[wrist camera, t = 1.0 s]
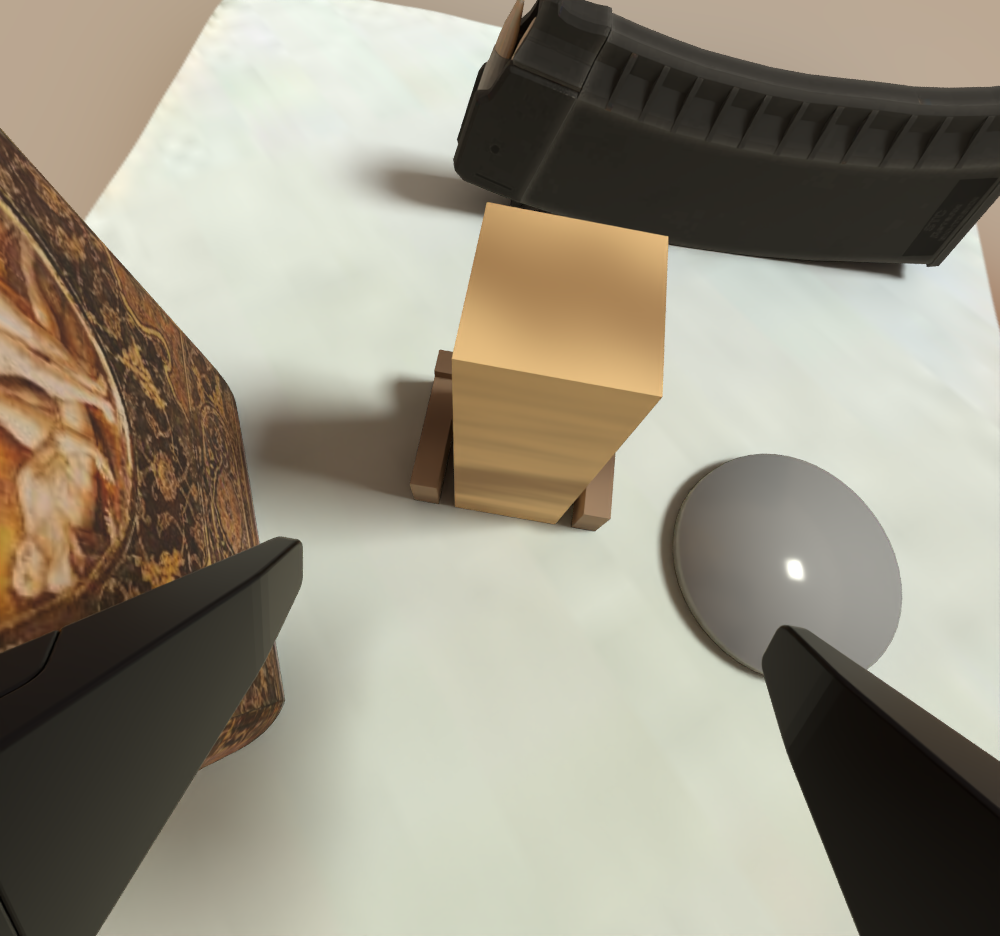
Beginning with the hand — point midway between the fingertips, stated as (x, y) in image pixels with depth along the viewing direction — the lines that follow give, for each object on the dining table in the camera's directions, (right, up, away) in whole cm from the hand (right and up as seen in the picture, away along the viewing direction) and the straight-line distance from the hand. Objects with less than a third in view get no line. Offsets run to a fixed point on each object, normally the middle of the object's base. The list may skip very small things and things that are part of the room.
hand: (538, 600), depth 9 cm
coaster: (+13, -2, +15) cm, 20 cm away
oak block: (0, +2, +15) cm, 15 cm away
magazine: (+12, +18, +22) cm, 31 cm away
